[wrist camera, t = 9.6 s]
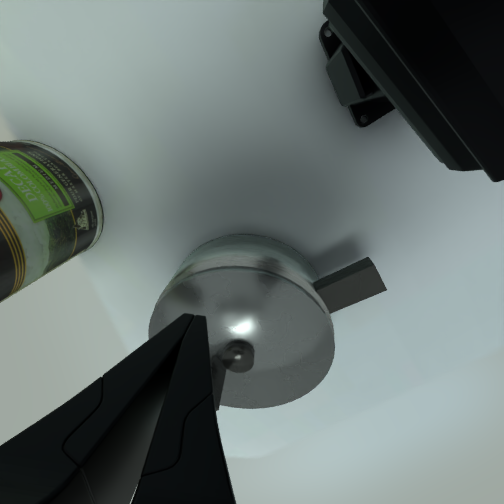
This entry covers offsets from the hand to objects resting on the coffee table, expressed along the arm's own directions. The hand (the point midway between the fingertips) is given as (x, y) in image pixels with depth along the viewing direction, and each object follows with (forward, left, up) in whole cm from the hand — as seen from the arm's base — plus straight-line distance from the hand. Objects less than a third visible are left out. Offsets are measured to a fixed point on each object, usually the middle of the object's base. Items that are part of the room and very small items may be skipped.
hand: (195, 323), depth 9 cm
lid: (+7, +8, -8) cm, 13 cm away
